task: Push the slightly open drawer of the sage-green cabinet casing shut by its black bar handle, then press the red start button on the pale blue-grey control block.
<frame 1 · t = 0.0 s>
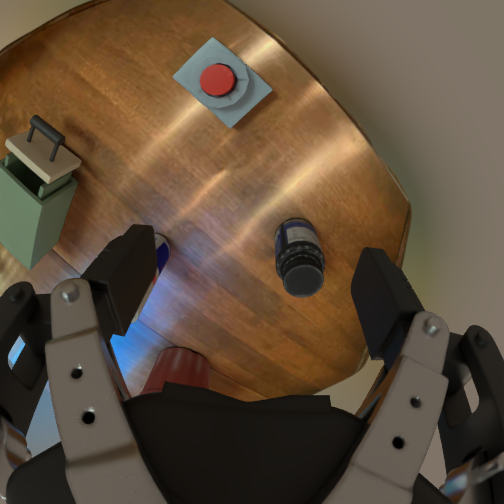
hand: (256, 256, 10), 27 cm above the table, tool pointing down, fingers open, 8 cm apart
start button: (217, 80, 25), point 4 cm above the table, slide at 0.1 cm
control block: (223, 82, 29), on the table
flower pot: (184, 361, 59), on the table
beverage can: (157, 244, 42), on the table
cabinet casing: (44, 195, 38), on the table
pill bottle: (295, 234, 40), on the table
drawer: (35, 173, 31), point 5 cm above the table, slide at 3.0 cm
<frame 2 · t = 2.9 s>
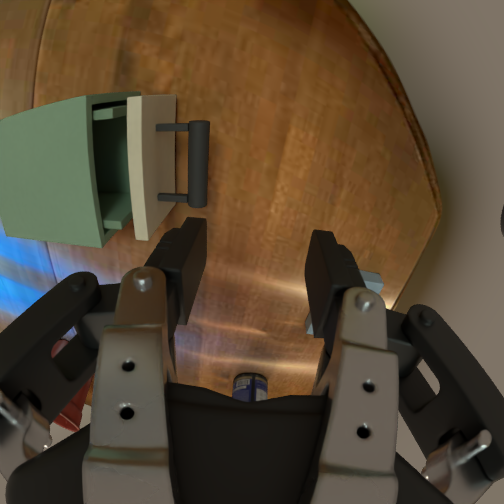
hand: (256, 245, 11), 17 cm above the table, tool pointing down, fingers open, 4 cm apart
control block: (341, 299, 35), on the table
flower pot: (73, 354, 48), on the table
cabinet casing: (86, 151, 26), on the table
pill bottle: (250, 379, 46), on the table
drawer: (115, 160, 21), point 5 cm above the table, slide at 3.0 cm
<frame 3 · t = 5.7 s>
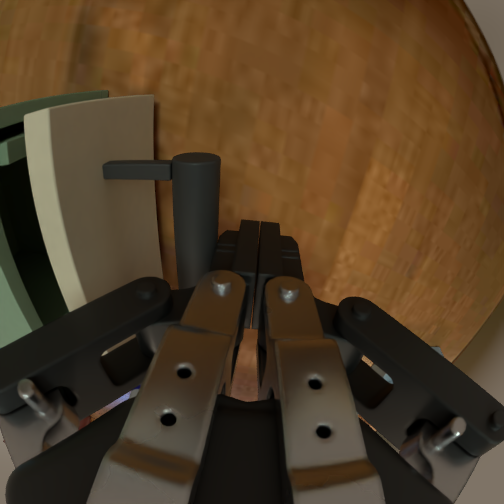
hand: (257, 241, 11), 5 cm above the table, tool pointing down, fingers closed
control block: (390, 375, 24), on the table
cabinet casing: (37, 190, 15), on the table
drawer: (52, 223, 11), point 5 cm above the table, slide at 2.2 cm, touching gripper
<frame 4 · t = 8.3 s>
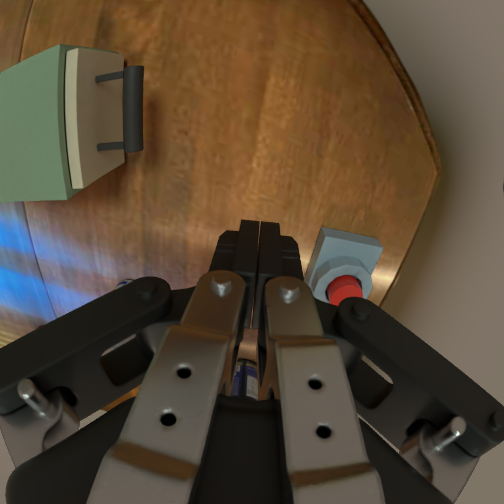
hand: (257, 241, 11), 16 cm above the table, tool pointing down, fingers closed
start button: (344, 293, 28), point 4 cm above the table, slide at 0.1 cm
control block: (336, 269, 32), on the table
cabinet casing: (65, 117, 22), on the table
pill bottle: (242, 366, 43), on the table
drawer: (64, 119, 18), point 5 cm above the table, slide at 0.0 cm, touching cabinet casing
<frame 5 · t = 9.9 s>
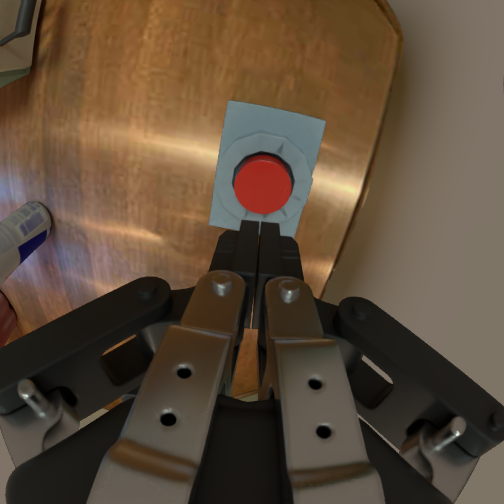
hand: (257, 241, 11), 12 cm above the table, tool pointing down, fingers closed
start button: (263, 184, 18), point 4 cm above the table, slide at 0.1 cm
control block: (264, 167, 21), on the table
beverage can: (41, 217, 25), on the table
cabinet casing: (0, 44, 13), on the table
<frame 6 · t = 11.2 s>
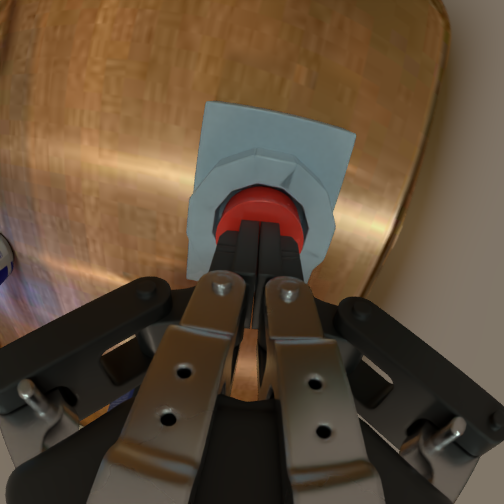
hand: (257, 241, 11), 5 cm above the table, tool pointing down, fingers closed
start button: (260, 231, 12), point 4 cm above the table, slide at -0.3 cm, touching gripper
control block: (262, 198, 15), on the table
beverage can: (3, 248, 19), on the table
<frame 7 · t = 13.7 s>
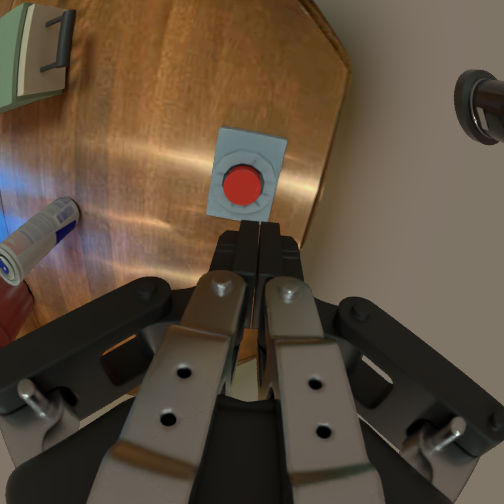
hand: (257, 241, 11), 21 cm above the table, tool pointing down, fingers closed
start button: (242, 185, 26), point 4 cm above the table, slide at 0.1 cm
control block: (245, 173, 30), on the table
flower pot: (16, 287, 43), on the table
beverage can: (70, 210, 33), on the table
cabinet casing: (30, 64, 21), on the table
drawer: (25, 57, 17), point 5 cm above the table, slide at 0.0 cm, touching cabinet casing
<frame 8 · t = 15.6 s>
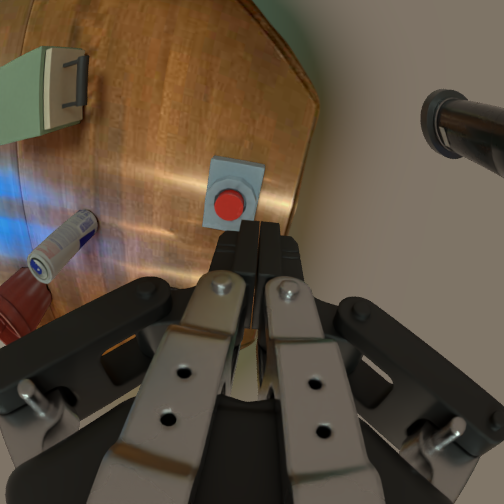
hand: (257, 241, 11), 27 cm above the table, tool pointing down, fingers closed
start button: (229, 205, 35), point 4 cm above the table, slide at 0.1 cm
control block: (233, 193, 38), on the table
flower pot: (35, 285, 52), on the table
beverage can: (88, 220, 42), on the table
cabinet casing: (48, 93, 29), on the table
drawer: (45, 91, 25), point 5 cm above the table, slide at 0.0 cm, touching cabinet casing
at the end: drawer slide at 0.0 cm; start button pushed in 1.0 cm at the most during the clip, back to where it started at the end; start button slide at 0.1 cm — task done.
